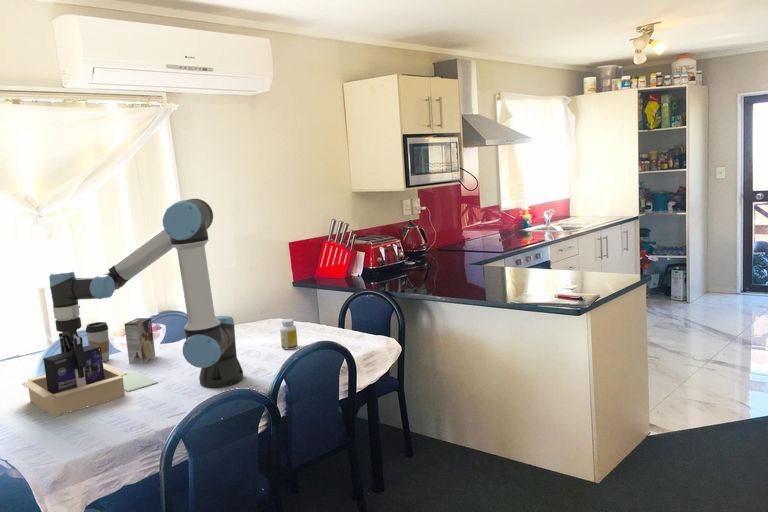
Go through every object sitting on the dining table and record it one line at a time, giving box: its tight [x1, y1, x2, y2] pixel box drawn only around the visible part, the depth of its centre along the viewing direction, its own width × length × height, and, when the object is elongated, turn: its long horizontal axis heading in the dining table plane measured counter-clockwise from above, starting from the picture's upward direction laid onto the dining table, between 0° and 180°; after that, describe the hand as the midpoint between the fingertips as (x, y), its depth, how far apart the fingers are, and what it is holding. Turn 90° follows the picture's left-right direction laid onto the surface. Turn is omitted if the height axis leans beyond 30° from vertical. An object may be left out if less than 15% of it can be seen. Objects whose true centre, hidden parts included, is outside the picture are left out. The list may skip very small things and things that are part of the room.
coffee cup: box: [85, 321, 110, 363], centre depth 256 cm, size 8×8×15 cm
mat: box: [123, 370, 159, 393], centre depth 231 cm, size 21×11×1 cm, turn 46°
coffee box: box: [124, 317, 156, 364], centre depth 255 cm, size 9×6×16 cm
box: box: [43, 344, 105, 394], centre depth 215 cm, size 17×7×12 cm, turn 147°
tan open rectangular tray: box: [21, 362, 127, 418], centre depth 216 cm, size 26×27×7 cm
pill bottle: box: [279, 318, 299, 350], centre depth 262 cm, size 6×6×12 cm
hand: (77, 384), depth 216 cm, fingers closed on box, 7 cm apart
